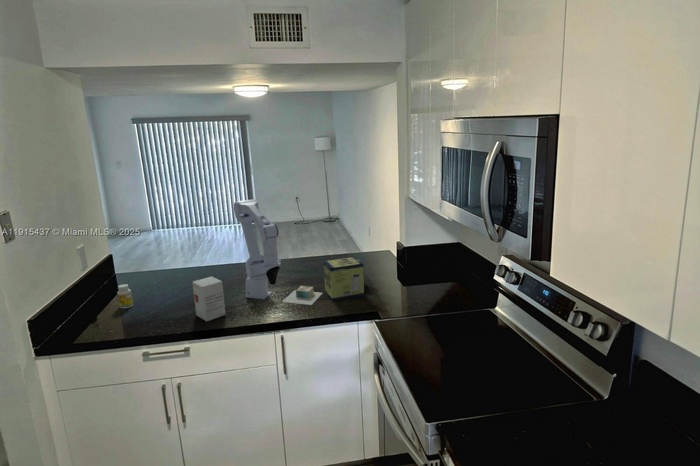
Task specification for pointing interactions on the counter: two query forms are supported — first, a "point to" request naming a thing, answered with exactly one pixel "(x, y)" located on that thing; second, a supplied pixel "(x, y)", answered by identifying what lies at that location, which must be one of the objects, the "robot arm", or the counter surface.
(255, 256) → the robot arm
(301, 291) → the maple block
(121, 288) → the supplement bottle
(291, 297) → the grey rubber mat
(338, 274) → the protein box
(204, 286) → the supplement box
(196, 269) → the counter surface
